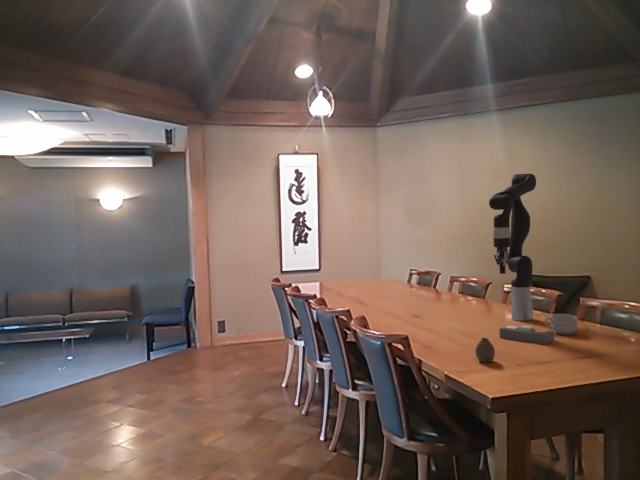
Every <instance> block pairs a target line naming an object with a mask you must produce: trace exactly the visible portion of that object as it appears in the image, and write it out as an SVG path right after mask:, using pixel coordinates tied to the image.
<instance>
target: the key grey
mask: <svg viewBox="0 0 640 480" xmlns="http://www.w3.org/2000/svg"><path fill="white" fill-rule="evenodd" d="M518 327H519V331H526V332H531V331H533V330H534V329H535V327H534V325H527V324H526V325H525V324H522V325H521V326H518Z"/></svg>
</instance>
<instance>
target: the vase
mask: <svg viewBox="0 0 640 480" xmlns="http://www.w3.org/2000/svg"><path fill="white" fill-rule="evenodd" d="M475 356H476V358H477V360H478V361H479V362H481V363H485V364H489V363H491V362H492V361H493V360H494V359H495V357H496V351H495V347H494V345H493V344H492V342H491V341H490V340H489V338H488V337H482V338H480V341H479V342H478V343H477V345H476V346H475Z"/></svg>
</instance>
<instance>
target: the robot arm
mask: <svg viewBox="0 0 640 480" xmlns="http://www.w3.org/2000/svg"><path fill="white" fill-rule="evenodd" d="M536 186H537V178H536V176H535V174H533V173H515V174H513V175H512V177H511V185H510V186H507V187H506V188H505V189H504V190H502V191H499V192H497V193H495V194H493V195H492V196H491V197H490V198H489V200H488V205H489V207H490V209H492V210H495V211H498V210H499V211H500V210H503V211H502V213H500V214H497V215H494V216H493V248H496V253H495V254H494V256H493V257H494V259H495V262H496V265H498V266H499V273H500V274H501V275H502V274H503V275H505V274H506V272H507V270H506V268H508V270H509V271H510V272H512V273H516V277H515V279H512V280H511V283H510V286H511V287H510V288H511V319H512V320H514V321H519V322H522V321H523V322H528V321H531V320H533V319H534V317H533V315H534V314H533V313H534V311H533V310H534V309H533V308H534V305H533V301H532V298H531V297H532V296H531V295H532V294H531V293H532V291H531V288H532V287H531V285H532V281H533V261H532V259H531V258H530V257H529V256H527V255H523V246H524V243H525V241H526V239H527V237H528V236H529V233H530V230H531V216H530V213H529V212H528V210H527V208H526V206H525V205H524V204H523V201H522V199H521V197H522V196H523V195H526V194H527V193H530V192H533V190H535V188H536ZM508 248H509V250H508ZM506 266H507V267H506Z"/></svg>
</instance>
